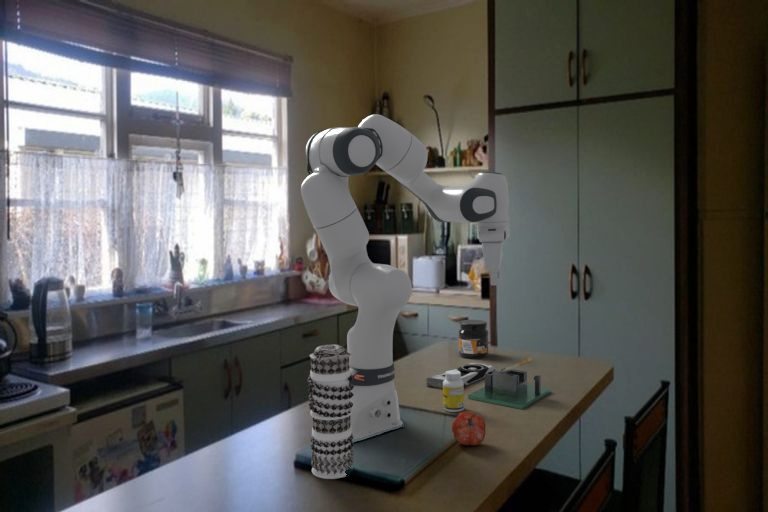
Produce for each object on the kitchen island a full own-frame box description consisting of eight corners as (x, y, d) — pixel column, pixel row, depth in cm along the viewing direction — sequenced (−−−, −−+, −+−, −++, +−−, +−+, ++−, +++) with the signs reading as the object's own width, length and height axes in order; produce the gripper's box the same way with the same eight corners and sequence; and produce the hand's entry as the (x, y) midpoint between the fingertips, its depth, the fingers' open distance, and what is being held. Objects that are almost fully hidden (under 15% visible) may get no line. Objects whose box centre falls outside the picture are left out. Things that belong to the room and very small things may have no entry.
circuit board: (522, 409, 160) (522, 384, 159) (468, 398, 170) (468, 375, 169) (550, 392, 174) (550, 369, 173) (499, 383, 184) (499, 361, 183)
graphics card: (426, 377, 181) (471, 360, 200) (426, 388, 181) (471, 370, 201) (455, 383, 175) (499, 364, 194) (455, 394, 175) (499, 375, 194)
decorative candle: (330, 457, 131) (327, 340, 129) (364, 467, 126) (362, 345, 124) (300, 472, 124) (296, 348, 122) (335, 483, 118) (332, 354, 116)
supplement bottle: (442, 406, 164) (442, 369, 163) (463, 405, 163) (462, 369, 163) (443, 412, 158) (443, 374, 157) (465, 412, 158) (464, 374, 157)
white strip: (528, 362, 166) (525, 357, 166) (488, 380, 174) (486, 376, 174) (532, 360, 168) (530, 355, 169) (493, 378, 176) (491, 374, 176)
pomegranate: (450, 448, 140) (447, 435, 132) (456, 417, 144) (453, 402, 136) (483, 454, 138) (482, 441, 130) (488, 423, 142) (487, 408, 134)
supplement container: (464, 360, 212) (464, 325, 211) (454, 353, 223) (454, 320, 222) (493, 358, 214) (493, 323, 214) (482, 351, 225) (482, 318, 224)
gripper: (484, 227, 180) (486, 274, 182) (478, 236, 160) (480, 289, 162) (506, 227, 178) (508, 274, 180) (503, 235, 159) (505, 288, 161)
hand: (495, 281), depth 171 cm, fingers open, 8 cm apart
